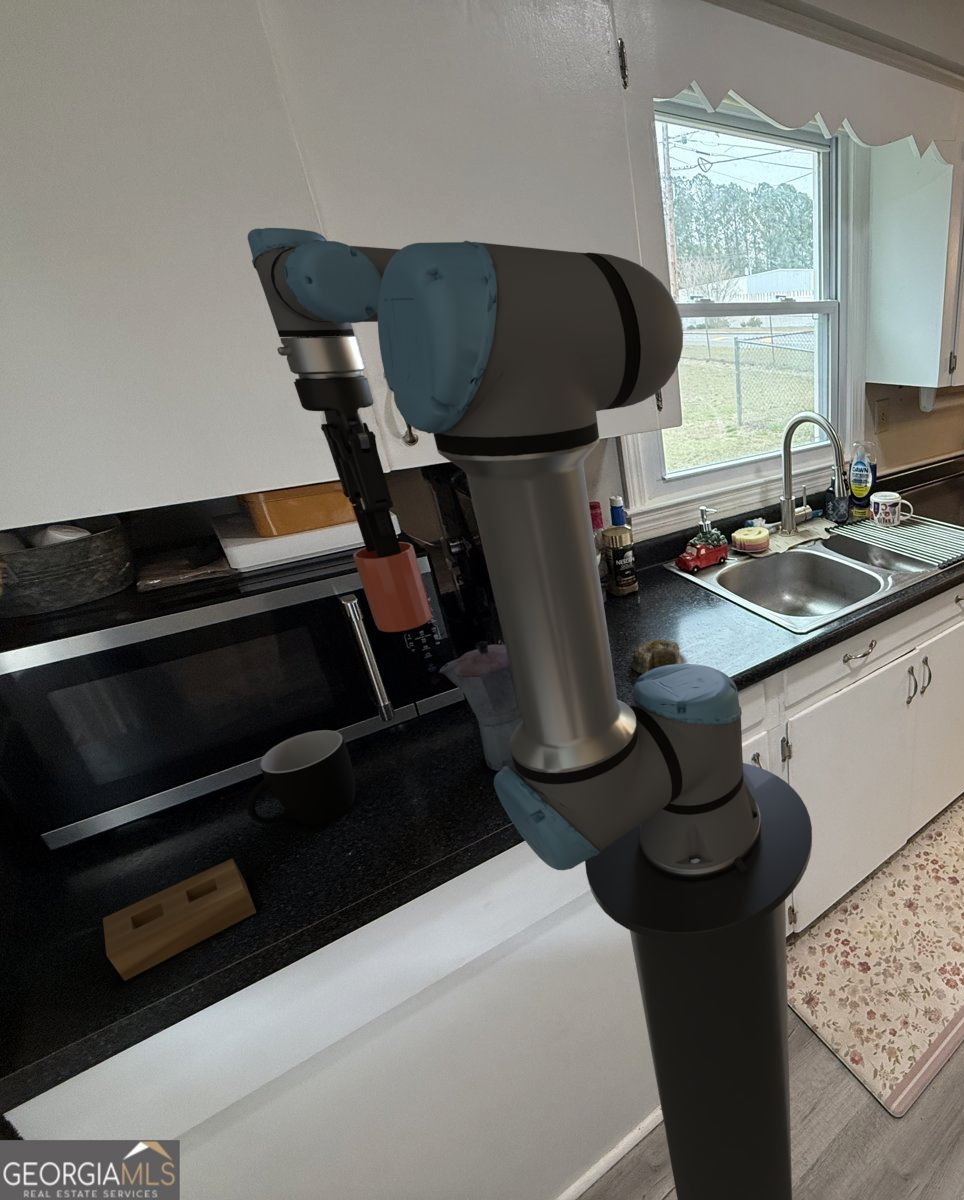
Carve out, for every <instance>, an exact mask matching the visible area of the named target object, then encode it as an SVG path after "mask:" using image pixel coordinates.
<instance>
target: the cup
mask: <svg viewBox="0 0 964 1200" xmlns="http://www.w3.org/2000/svg"><path fill="white" fill-rule="evenodd" d="M398 542H399V545H400V549H401V552H402V553H399V554H396V555H392V556H388V557H382V558H378V556H377V553H376V550H375V551H371V552H368V551H367V550H366V547H364V548H361V549H359V550H357V551H355V552H354V553H353V555H352V557H353V560H354V561H353V562H354V564H355V567H356V569H357V573H358V576H359V579H360V582H361V585H362V589H363V591H364V593H365V594H364V595H365V597H366V600H367V603H368V606H369V609H370V612H371V616H372V618H373V621H374V625H375V626H376V628H377V630H379V632H380V631H381V632H383V633H385V632H386V633H396V632H404V631H408V630H413V629H416V628H418V627H420V626H423V625H424V624H426V623H428V622H430V620H431V619H432V618H433V612H432V608H431V604H430V601H429V598H428V594H427V590H426V588H425V584H424V579H423V577H422V573H421V570H420V565H419V562H418V558H417V555H416V552H415V548H414V545H413V544H411V543H410V542H405V541H404V542H403V541H398Z"/></svg>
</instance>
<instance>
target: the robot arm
mask: <svg viewBox="0 0 964 1200" xmlns="http://www.w3.org/2000/svg"><path fill="white" fill-rule="evenodd" d="M247 242H248V246H249V249H250V253H251V257H252V259H251V263H252V266H253V268H254V269H255V271H256V273H257V275H258V278H259V282H260V284H261V287H262V290H263V293H264V296H265V299H266V302H267V304H268V307H269V310H270V314H271V317H272V321H273V323H274V325H275V328H276V331H277V334H278V337H279V340H280V343H281V344H282V346H279V347H277V349H276V350H277V353H278V355H280V356H281V357H285V356H286V361H287V364H288V367H289V371H290V372H291V373H293V374H294V375H297V376H298V377H297V378H295V379H294V381H293V385H294V387H295V390H296V394H297V396H298V399H299V402H300V405H301V407H302V408H303V409H304V410H305V411H307V412H308V411H309V412H323V414H324V417H325V422H326V423H321V425H320V429H321V432H323V435H324V437H325V439H326V442H327V445H328V448H329V451H330V454H331V458H332V460H333V463H334V466H335V470H336V473H337V476H338V479H339V482H340V485H341V488H342V490H343V492H342V493H343V495H344V497H346V498H348V501H349V502H350V504H351V505H352V509H353V512H354V515H355V519H356V522H357V525H358V528H359V531H360V534H361V538H362V540H363V541H362V542H363V544H364V548H366V550H367V551H368V552H371V551H375V550H376V553H377V556H378V558H382V557H388V556H392V555H396V554H399V553H402V552H401V549H400V545H399V542H400V541H399V539H398V535H397V531H396V528H395V525H394V522H393V519H392V515H391V512H390V510H391V508H394V501H392V500H393V499H392V497H391V493H390V490H389V486H388V483H387V479H386V477H385V472H384V469H383V465H382V462H381V458H380V455H379V451H378V446H377V440H376V437H377V436H376V434H375V433H374V431H372V430H371V431H370V429H369V426H368V424H367V422H363V420H362V418H361V415H360V413H359V410H360V409H364V408H365V409H366V408H369V407H372V406H373V405H374V403H375V402H374V398H373V394H372V392H371V391H372V390H371V387H370V384H369V380H368V378H367V377H366V376H365V375H363V374H362V375H361V372H363V371H364V370H365V368H366V367H365V364H364V361H363V358H362V357H363V356H362V354H361V350H360V347H359V343H358V340H357V337H356V336H355V332H354V331H355V330H354V329H353V325H352V324H358V323H377V334H378V343H379V344H378V345H379V351H380V358H381V364H382V366H383V372H384V375H385V380H386V383H387V387H388V389H389V390H390V391H391V392H393V401H394V403H395V407H396V409H397V410H398V412H399V414H400V415H401V417H402V418H403V419H404V421H405V422H406V423H407V424H408V425H409V426H410V427H412V428H413V429H415V430H417V431H419V432H425V433H427V434H429V435H430V434H432V435H433V438H434V443H435V445H436V449H437V453H438V454H439V455H440V456H442V457H443V458H444V459H445V460H448V461H449V462H450V463H452V464H453V465H455V466H456V467H458V468H459V469H461V470H462V471H463V473H465V475H466V479H467V484H468V488H469V493H470V497H471V502H472V506H473V510H474V515H475V519H476V522H477V528H478V532H479V537H480V541H481V545H482V550H483V554H484V559H485V564H486V567H487V571H488V575H489V581H490V585H491V591H492V594H493V599H494V603H495V607H496V611H497V615H498V621H499V626H500V628H501V634H502V638H503V642H504V645H505V647H506V651H507V656H508V660H509V664H510V669H511V673H512V678H513V682H514V686H515V691H516V695H517V700H518V704H519V708H520V713H521V717H522V721H521V722H520V724H519V725H518V726H517V727H516V728H515V730H514V732H513V734H512V735H511V739H510V751H511V755H512V759H513V763H514V764H512V765H510V766H505V767H503V769H502V770H501V771H498V772H497V773H496V774H495V776H494V778H493V787H494V790H495V792H496V796H497V798H498V799H499V802H500V804H501V806H502V807H503V809H504V811H505V812H506V814H507V816H508V818H509V819H510V821H511V822H512V824H513V825H514V827H515V829H516V831H518V833H519V834H520V836H521V838H523V840H524V841H525V842H526V844H527V845H528V846H529V847H530V849H531V850H532V851H533V852H534V854H535V855H536V856H537V857H538V858H539V859H540V860H541V861H542V862H544V864H546V865H547V866H548V867H550V868H551V869H554V870H557V871H568V870H572V869H573V868H575V867H577V866H579V865H581V864H582V863H585V861H586V860H587V859H589V858H591V857H593V856H594V855H595V856H597V855H598V854H599V853H601V851H602V850H604V849H605V848H606V847H608V846H609V845H611V844H612V843H614V842H615V841H616V840H618V839H619V838H621V837H622V836H624V835H625V834H627V833H628V832H629V831H631V830H632V829H634V828H635V827H637V826H638V825H639V832H638V834H639V842H640V848H641V852H642V855H643V857H644V859H645V861H646V862H647V864H648V865H649V866H650V867H651V868H652V869H653V870H655V871H656V872H658V873H659V874H661V875H663V876H665V877H668V878H671V879H674V880H679V881H704V880H709V879H713V878H716V877H719V876H722V875H724V874H727V873H729V872H731V871H732V870H734V869H736V868H738V870H739V871H740V873H741V874H744V873H745V872H746V871H747V870H748V869H747V867H746V866H745V864H744V862H745V861H746V860H747V859H748V858H749V857H750V855H751V854H752V853H753V851H754V850H755V848H756V846H757V844H758V841H759V838H760V833H761V824H760V812H759V808H758V806H757V804H756V802H755V800H754V798H753V796H752V794H751V792H750V790H749V788H748V786H747V784H746V782H745V780H744V776H743V763H744V760H743V759H744V758H743V736H742V735H743V733H742V714H743V712H742V707H741V706H740V699H739V691H738V687H737V685H736V683H735V682H734V680H733V679H732V678H731V677H730V676H728V675H727V674H726V673H725V672H723V671H721V670H719V669H717V668H714V667H712V666H707V665H702V664H694V663H683V664H672V665H666V666H661V667H658V668H655V669H652V670H650V671H647V672H646V673H644V674H643V673H642V674H641V675H640V676H639V677H638V678H637V679H636V682H635V684H634V685H633V690H632V692H631V693H632V698H633V702H631V703H630V704H627V703H626V702H624V701H621V700H620V699H618V693H617V686H616V680H615V673H614V666H613V660H612V653H611V646H610V639H609V633H608V624H607V619H606V612H605V611H606V610H605V604H604V597H603V591H602V583H601V578H600V569H599V564H598V556H597V549H596V542H595V535H594V529H593V528H594V527H593V521H592V515H591V508H590V501H589V494H588V488H587V487H588V486H587V480H586V474H585V473H586V472H585V466H584V463H585V460H586V459H587V458H588V457H589V455H590V454H591V453H592V452H593V451H594V449H595V448H596V447H597V445H598V444H599V443H600V432H599V425H598V416H597V412H600V411H605V410H615V409H620V408H627V407H631V406H634V405H637V404H639V403H641V402H644V401H645V400H647V399H649V398H650V397H651V398H652V397H653V396H654V395H656V394H657V393H658V392H659V391H660V390H662V388H664V386H666V385H667V383H668V382H669V381H670V379H671V378H672V376H673V375H674V374H675V372H676V369H677V367H678V365H679V362H680V360H681V357H682V352H683V347H684V330H683V329H684V328H683V323H682V317H681V314H680V311H679V307H678V305H677V303H676V301H675V299H674V296H673V295H672V293H671V292H670V291H669V290H668V288H667V287H666V286H665V284H664V283H663V282H662V281H661V280H660V279H659V278H658V277H657V276H656V275H654V273H652V272H651V271H649V270H648V269H646V268H645V267H643V266H642V265H641V264H638V263H636V262H634V261H631V260H629V259H627V258H623V257H619V256H616V255H613V254H609V253H599V252H577V251H568V250H557V249H548V248H537V247H528V246H519V245H508V244H497V243H490V242H489V243H487V242H479V241H469V240H464V241H451V242H450V241H447V242H445V241H443V242H441V241H440V242H439V241H438V242H437V241H436V242H415V243H411V244H407V245H406V246H403V247H401V248H386V247H376V246H375V247H373V246H372V247H371V246H361V245H360V246H358V245H348V244H346V243H343V242H339V241H335V240H327V238H326V237H324V235H322V234H321V233H318V232H317V231H313V230H305V229H298V228H288V227H287V228H285V227H264V228H254V229H251V230H249V232H248V233H247ZM360 498H362V500H363V503H364V506H365V510H364V509H363V506H362V503H361V500H360Z"/></svg>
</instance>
